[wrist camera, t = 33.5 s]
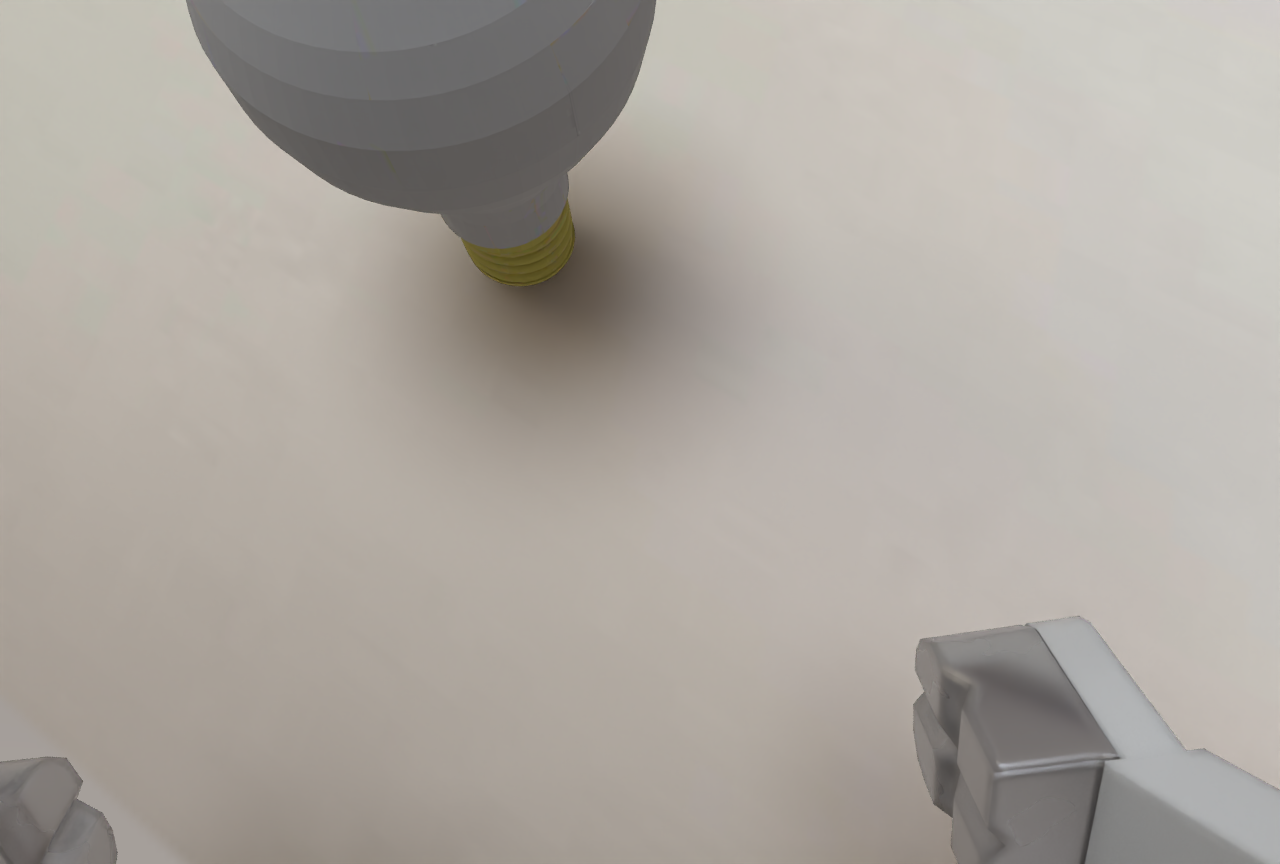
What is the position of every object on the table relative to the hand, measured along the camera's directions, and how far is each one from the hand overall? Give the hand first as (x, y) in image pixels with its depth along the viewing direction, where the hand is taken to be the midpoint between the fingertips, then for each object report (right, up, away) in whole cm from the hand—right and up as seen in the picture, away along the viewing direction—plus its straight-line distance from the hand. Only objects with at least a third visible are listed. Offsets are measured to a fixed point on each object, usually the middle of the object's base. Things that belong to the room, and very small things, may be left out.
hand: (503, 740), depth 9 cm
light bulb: (-1, +6, +9) cm, 11 cm away
